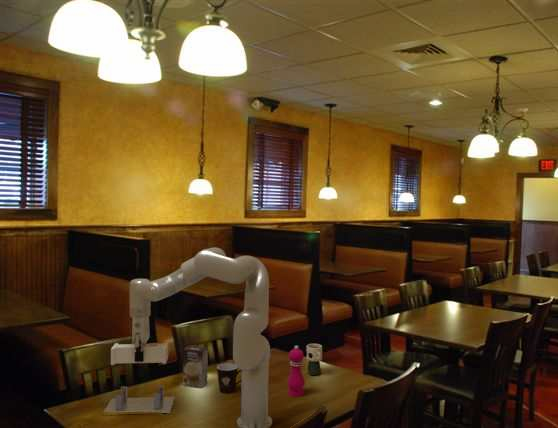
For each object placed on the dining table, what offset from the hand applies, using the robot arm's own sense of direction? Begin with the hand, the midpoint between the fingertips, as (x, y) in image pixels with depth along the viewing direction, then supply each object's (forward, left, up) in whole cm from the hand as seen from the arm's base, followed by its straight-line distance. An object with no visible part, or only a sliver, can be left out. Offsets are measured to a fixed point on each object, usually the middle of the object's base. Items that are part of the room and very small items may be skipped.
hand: (140, 359), depth 189 cm
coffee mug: (+14, -34, -19) cm, 41 cm away
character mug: (+32, -72, -19) cm, 81 cm away
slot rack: (0, 0, -19) cm, 19 cm away
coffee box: (+22, -19, -19) cm, 35 cm away
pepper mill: (+10, -61, -19) cm, 65 cm away
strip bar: (0, 0, -1) cm, 1 cm away
